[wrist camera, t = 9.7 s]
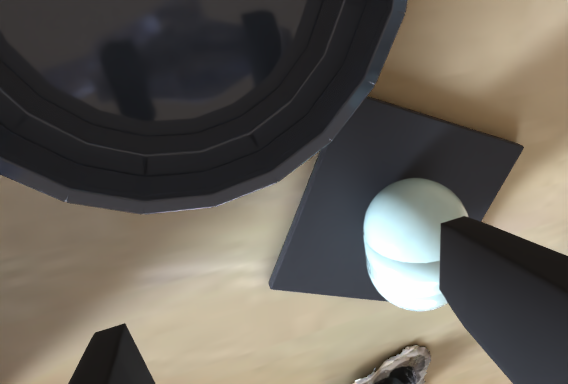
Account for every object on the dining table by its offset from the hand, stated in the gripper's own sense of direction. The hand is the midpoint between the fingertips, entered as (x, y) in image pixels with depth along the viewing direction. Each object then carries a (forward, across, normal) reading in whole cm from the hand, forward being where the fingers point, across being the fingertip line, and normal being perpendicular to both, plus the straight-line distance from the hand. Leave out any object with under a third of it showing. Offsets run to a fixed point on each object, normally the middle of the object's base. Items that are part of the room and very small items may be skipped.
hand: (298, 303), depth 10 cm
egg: (+7, -7, +6) cm, 11 cm away
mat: (+9, -7, +6) cm, 13 cm away
